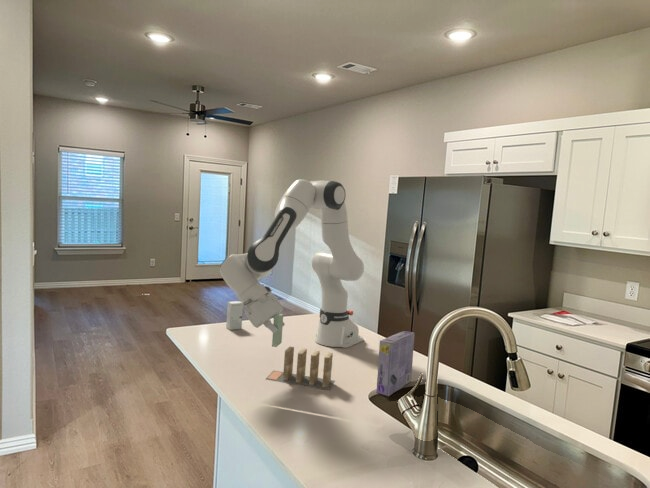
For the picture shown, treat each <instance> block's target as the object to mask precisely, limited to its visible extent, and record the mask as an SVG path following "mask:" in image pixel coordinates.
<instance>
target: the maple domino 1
mask: <svg viewBox="0 0 650 488" xmlns="http://www.w3.org/2000/svg"><path fill="white" fill-rule="evenodd" d="M294 352H295V347H294V346H289V347H287V348H286V349H285V351H284V359H283V361H284V362H283V372H284V373H283V380H284V381H288V380H289V379H290V378H291V376H292V374H293V373H294V372H293V371H294V370H293V369H294V368H293V367H294V356H295V355H294Z"/></svg>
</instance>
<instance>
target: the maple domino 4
mask: <svg viewBox="0 0 650 488" xmlns="http://www.w3.org/2000/svg"><path fill="white" fill-rule="evenodd" d="M332 367H333V352H327V353H326V355H325V356H324V360H323V373H322V379H323V385H322V387H325V388H327V387H328V386H329V384H330V382H331V380H332Z"/></svg>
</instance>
